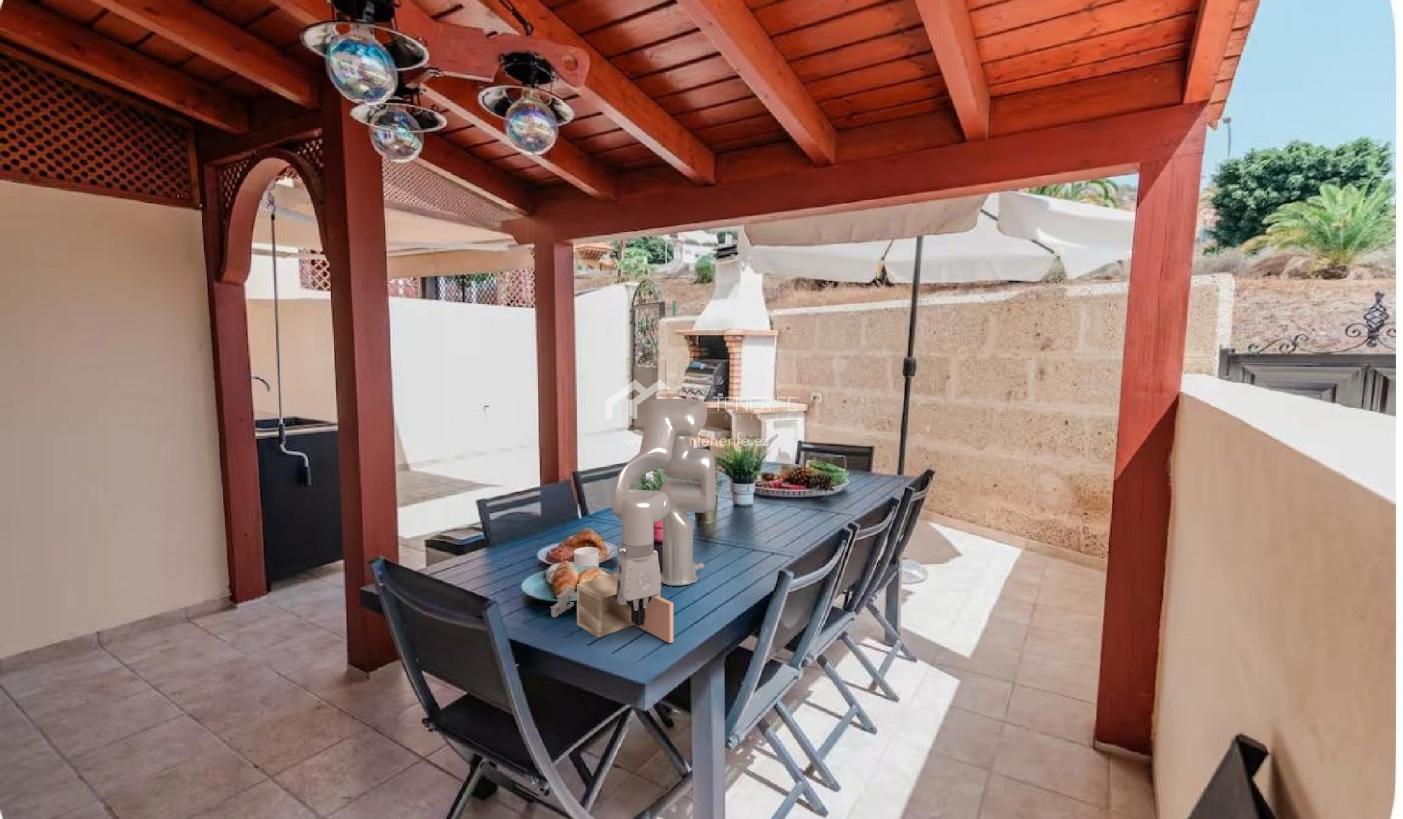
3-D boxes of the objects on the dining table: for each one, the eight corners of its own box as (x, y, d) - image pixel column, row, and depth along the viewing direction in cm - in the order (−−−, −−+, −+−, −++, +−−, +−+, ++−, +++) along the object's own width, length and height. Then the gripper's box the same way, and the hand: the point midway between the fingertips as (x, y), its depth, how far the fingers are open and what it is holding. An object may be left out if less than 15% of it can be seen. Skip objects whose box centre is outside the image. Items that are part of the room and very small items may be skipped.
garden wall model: (555, 618, 169) (555, 597, 168) (549, 617, 169) (549, 596, 169) (579, 602, 180) (579, 582, 179) (574, 601, 181) (574, 581, 180)
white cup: (601, 577, 200) (600, 546, 199) (597, 586, 192) (597, 554, 191) (576, 577, 200) (575, 547, 199) (571, 586, 192) (571, 555, 191)
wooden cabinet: (638, 604, 178) (637, 566, 177) (663, 616, 170) (663, 577, 169) (577, 625, 165) (576, 584, 164) (601, 639, 156) (601, 596, 155)
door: (632, 623, 164) (632, 587, 163) (639, 621, 166) (639, 585, 165) (669, 643, 153) (669, 604, 152) (677, 640, 155) (677, 601, 154)
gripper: (616, 559, 142) (616, 637, 144) (673, 548, 150) (673, 622, 152) (602, 550, 148) (603, 625, 150) (657, 540, 156) (657, 611, 158)
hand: (638, 623), depth 151 cm, fingers closed
